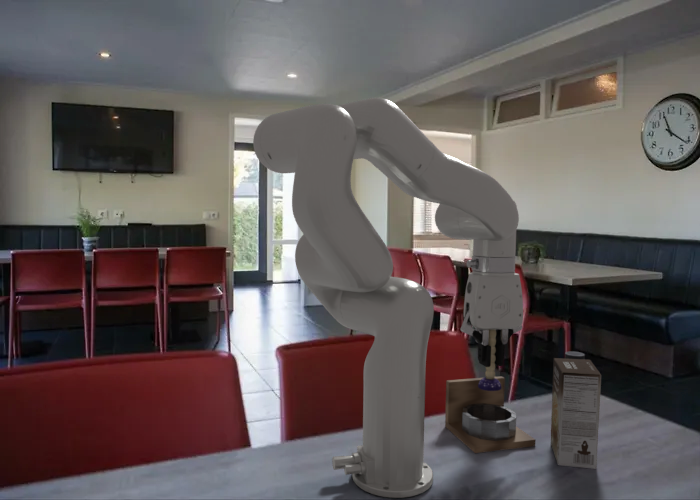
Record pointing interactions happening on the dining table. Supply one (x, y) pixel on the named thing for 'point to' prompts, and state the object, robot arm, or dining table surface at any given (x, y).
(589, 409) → the coffee box
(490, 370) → the toy lamp
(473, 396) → the bracket
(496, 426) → the grey faceted ring
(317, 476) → the dining table surface
